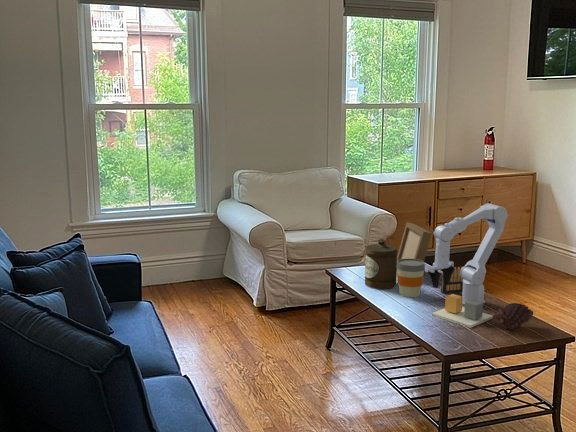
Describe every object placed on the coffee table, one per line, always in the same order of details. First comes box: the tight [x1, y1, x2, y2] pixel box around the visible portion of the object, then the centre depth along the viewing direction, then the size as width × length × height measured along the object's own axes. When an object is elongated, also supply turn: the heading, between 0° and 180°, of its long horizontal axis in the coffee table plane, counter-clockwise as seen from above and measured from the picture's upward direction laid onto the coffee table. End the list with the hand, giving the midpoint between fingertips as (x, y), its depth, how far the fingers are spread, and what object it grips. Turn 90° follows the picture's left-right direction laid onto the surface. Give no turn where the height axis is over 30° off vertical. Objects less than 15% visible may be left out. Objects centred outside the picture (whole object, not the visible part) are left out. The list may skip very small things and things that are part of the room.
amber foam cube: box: [444, 293, 464, 313], centre depth 250 cm, size 5×5×6 cm
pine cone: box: [492, 302, 534, 330], centre depth 235 cm, size 18×10×10 cm, turn 110°
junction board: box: [431, 300, 494, 329], centre depth 247 cm, size 16×18×8 cm
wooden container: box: [364, 238, 398, 290], centre depth 288 cm, size 15×15×22 cm
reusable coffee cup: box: [396, 258, 426, 298], centre depth 275 cm, size 13×13×15 cm
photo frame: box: [397, 221, 433, 275], centre depth 302 cm, size 15×22×25 cm
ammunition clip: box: [440, 266, 464, 295], centre depth 278 cm, size 11×2×12 cm, turn 104°
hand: (440, 285), depth 258 cm, fingers open, 7 cm apart
